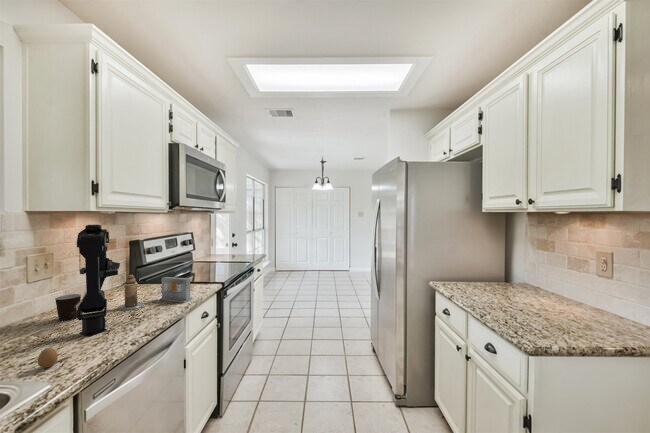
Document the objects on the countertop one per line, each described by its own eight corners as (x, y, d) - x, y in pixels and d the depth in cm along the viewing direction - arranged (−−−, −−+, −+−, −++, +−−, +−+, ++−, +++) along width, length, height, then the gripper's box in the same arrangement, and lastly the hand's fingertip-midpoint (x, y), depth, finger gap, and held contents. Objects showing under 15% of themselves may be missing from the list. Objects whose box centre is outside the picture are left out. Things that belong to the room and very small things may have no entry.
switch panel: (184, 302, 150) (184, 280, 150) (159, 300, 154) (159, 278, 154) (192, 299, 156) (192, 277, 156) (168, 297, 160) (168, 276, 160)
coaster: (127, 311, 137) (127, 310, 137) (112, 308, 141) (112, 307, 141) (149, 305, 147) (149, 303, 147) (134, 302, 151) (134, 301, 151)
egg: (42, 372, 85) (42, 352, 85) (34, 369, 87) (34, 349, 86) (61, 365, 89) (60, 346, 89) (53, 362, 91) (52, 343, 91)
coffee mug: (65, 323, 123) (65, 300, 122) (50, 321, 124) (49, 298, 124) (92, 313, 134) (92, 292, 134) (78, 312, 136) (77, 291, 136)
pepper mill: (133, 307, 141) (132, 275, 141) (122, 307, 141) (121, 275, 141) (139, 304, 146) (139, 273, 146) (129, 304, 146) (128, 273, 146)
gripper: (129, 255, 135) (130, 287, 135) (105, 253, 142) (105, 284, 142) (104, 258, 124) (104, 294, 125) (78, 256, 132) (79, 289, 132)
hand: (98, 290), depth 131 cm, fingers closed
